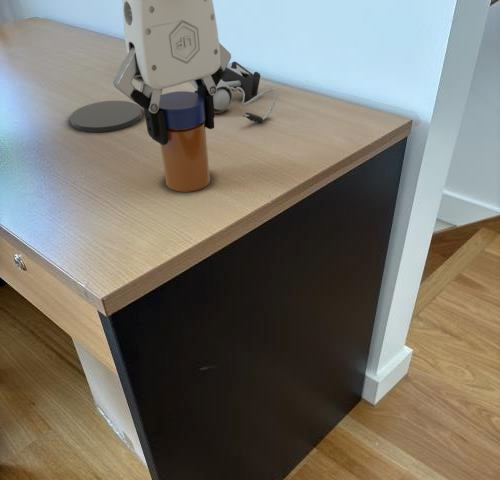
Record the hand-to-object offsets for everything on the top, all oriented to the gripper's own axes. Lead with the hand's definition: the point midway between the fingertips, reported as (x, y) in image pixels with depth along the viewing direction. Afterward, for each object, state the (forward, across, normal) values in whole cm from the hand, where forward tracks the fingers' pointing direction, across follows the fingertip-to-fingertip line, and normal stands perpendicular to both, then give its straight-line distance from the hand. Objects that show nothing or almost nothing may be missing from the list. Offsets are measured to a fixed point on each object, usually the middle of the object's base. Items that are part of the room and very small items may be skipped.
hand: (183, 132), depth 65 cm
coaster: (+7, +2, +29) cm, 30 cm away
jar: (+7, 0, 0) cm, 7 cm away
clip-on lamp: (+7, +21, +17) cm, 28 cm away
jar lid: (-3, 0, 0) cm, 3 cm away
